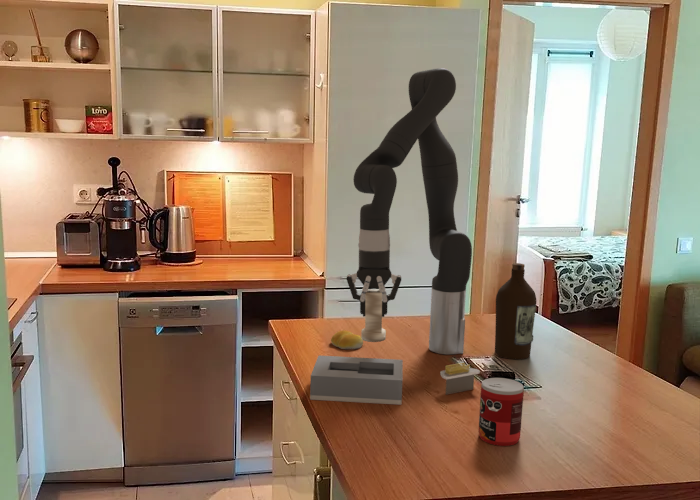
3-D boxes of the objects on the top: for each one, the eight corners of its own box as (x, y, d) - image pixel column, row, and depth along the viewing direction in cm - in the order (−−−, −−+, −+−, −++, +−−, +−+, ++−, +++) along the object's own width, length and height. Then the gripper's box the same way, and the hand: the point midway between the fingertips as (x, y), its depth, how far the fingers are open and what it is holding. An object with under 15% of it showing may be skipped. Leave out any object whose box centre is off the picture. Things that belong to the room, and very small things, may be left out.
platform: (410, 389, 157) (411, 362, 156) (471, 378, 166) (472, 352, 165) (441, 408, 147) (442, 379, 146) (504, 394, 156) (506, 367, 155)
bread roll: (347, 352, 183) (347, 338, 182) (326, 344, 189) (326, 330, 189) (369, 347, 188) (370, 333, 187) (348, 339, 195) (349, 325, 194)
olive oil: (484, 351, 186) (489, 262, 182) (511, 346, 192) (517, 259, 188) (513, 363, 177) (519, 269, 173) (540, 356, 183) (547, 266, 179)
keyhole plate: (401, 382, 161) (402, 359, 160) (401, 404, 147) (402, 380, 146) (318, 377, 162) (318, 355, 161) (310, 399, 149) (310, 375, 148)
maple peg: (385, 335, 171) (386, 288, 169) (385, 342, 165) (386, 294, 163) (361, 334, 171) (362, 288, 169) (360, 341, 165) (361, 293, 163)
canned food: (473, 429, 135) (476, 377, 134) (512, 429, 136) (516, 377, 134) (484, 447, 128) (487, 391, 126) (525, 446, 129) (529, 391, 127)
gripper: (403, 245, 167) (402, 312, 170) (346, 244, 168) (345, 311, 171) (404, 250, 160) (402, 320, 163) (343, 249, 161) (343, 319, 164)
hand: (373, 315), depth 167 cm, fingers closed on maple peg, 4 cm apart
